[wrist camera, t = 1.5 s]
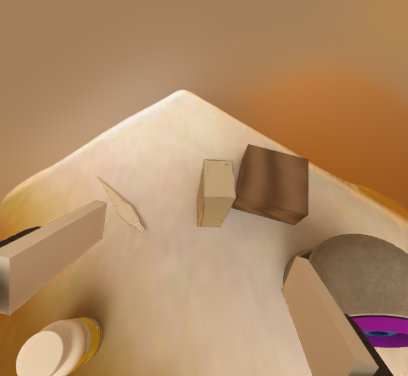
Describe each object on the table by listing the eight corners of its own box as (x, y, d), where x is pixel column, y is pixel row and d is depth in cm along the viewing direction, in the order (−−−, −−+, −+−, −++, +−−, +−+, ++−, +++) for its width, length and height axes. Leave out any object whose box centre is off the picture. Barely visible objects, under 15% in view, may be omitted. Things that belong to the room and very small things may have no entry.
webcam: (283, 327, 31) (356, 343, 18) (282, 243, 37) (336, 209, 24) (370, 346, 31) (508, 376, 18) (355, 258, 37) (448, 232, 24)
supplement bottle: (58, 372, 26) (-1, 403, 18) (61, 322, 29) (11, 329, 20) (104, 359, 27) (68, 382, 19) (103, 312, 30) (72, 314, 21)
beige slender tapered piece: (151, 228, 36) (149, 224, 35) (138, 239, 36) (136, 235, 34) (105, 176, 42) (101, 170, 40) (93, 183, 41) (88, 178, 39)
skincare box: (197, 196, 40) (202, 157, 30) (220, 197, 41) (233, 159, 30) (197, 228, 37) (202, 196, 27) (221, 228, 38) (236, 198, 27)
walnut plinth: (296, 173, 45) (308, 159, 41) (294, 224, 39) (308, 214, 35) (241, 159, 46) (248, 144, 41) (232, 208, 40) (238, 195, 35)
